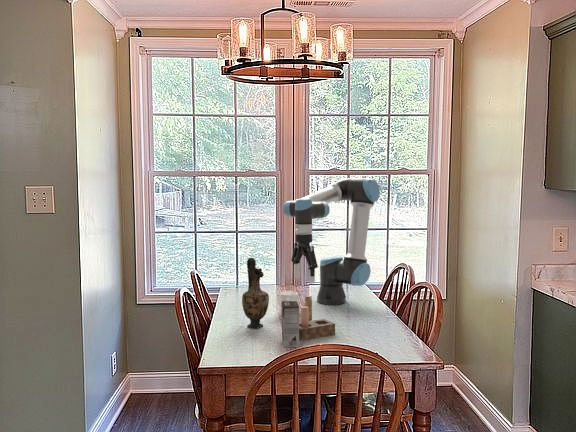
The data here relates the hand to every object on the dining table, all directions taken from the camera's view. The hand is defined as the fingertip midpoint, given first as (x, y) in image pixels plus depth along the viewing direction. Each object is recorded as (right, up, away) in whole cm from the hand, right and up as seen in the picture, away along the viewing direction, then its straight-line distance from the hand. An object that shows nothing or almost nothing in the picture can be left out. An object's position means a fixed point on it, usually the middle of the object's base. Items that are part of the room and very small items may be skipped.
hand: (304, 280), depth 245 cm
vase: (-22, -20, -3) cm, 30 cm away
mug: (-7, -18, +14) cm, 24 cm away
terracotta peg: (0, -21, -18) cm, 27 cm away
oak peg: (+2, -19, +1) cm, 19 cm away
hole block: (+3, -21, -16) cm, 26 cm away
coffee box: (-6, -22, -27) cm, 36 cm away
